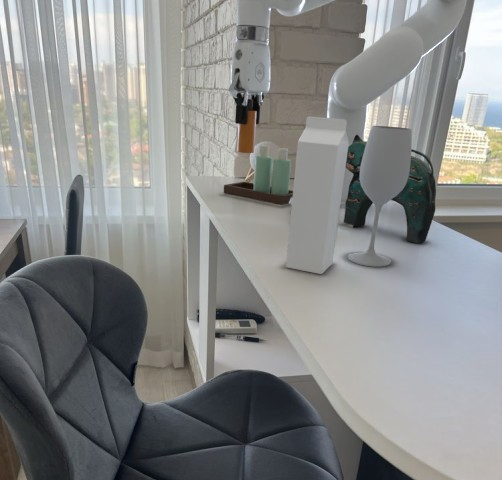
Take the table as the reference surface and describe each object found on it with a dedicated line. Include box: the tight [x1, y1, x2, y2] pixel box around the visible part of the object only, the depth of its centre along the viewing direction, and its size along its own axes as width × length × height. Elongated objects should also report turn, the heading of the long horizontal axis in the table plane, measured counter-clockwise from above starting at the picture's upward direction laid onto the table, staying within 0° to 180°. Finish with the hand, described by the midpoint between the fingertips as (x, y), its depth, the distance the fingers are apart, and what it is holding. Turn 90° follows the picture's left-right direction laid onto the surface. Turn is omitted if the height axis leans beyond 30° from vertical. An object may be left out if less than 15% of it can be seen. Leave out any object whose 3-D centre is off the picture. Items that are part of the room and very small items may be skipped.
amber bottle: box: [236, 98, 257, 154], centre depth 123 cm, size 4×4×12 cm
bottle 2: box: [271, 147, 292, 195], centre depth 122 cm, size 4×4×12 cm
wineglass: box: [347, 125, 413, 268], centre depth 82 cm, size 8×8×21 cm
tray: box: [223, 181, 293, 206], centre depth 127 cm, size 18×9×3 cm, turn 54°
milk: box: [285, 115, 349, 275], centre depth 76 cm, size 6×6×22 cm
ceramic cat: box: [343, 135, 437, 244], centre depth 100 cm, size 20×6×20 cm, turn 45°
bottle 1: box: [253, 145, 273, 193], centre depth 125 cm, size 4×4×12 cm
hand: (247, 122), depth 123 cm, fingers closed on amber bottle, 4 cm apart
